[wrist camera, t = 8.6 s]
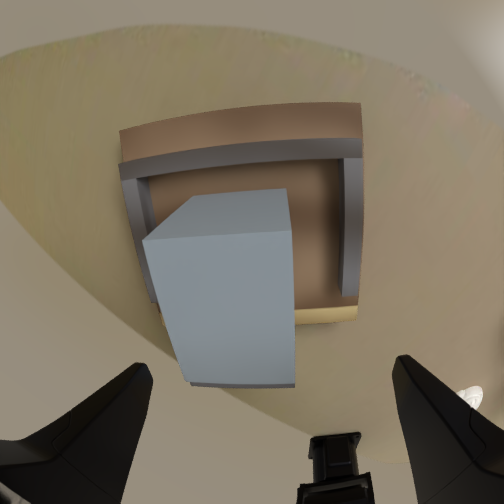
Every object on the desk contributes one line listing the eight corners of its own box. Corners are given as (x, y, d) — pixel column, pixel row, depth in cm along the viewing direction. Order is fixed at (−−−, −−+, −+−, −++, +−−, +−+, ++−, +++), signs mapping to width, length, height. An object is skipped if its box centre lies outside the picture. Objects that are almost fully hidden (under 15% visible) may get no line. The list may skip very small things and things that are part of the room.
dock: (349, 299, 21) (360, 332, 18) (173, 306, 23) (156, 337, 19) (349, 106, 16) (368, 100, 12) (137, 129, 17) (106, 132, 14)
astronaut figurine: (399, 426, 29) (404, 443, 26) (474, 375, 25) (483, 392, 22) (420, 439, 31) (425, 454, 28) (485, 396, 27) (492, 410, 24)
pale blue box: (291, 303, 19) (294, 394, 12) (217, 306, 19) (189, 391, 12) (285, 184, 16) (291, 230, 9) (197, 191, 16) (142, 240, 9)
